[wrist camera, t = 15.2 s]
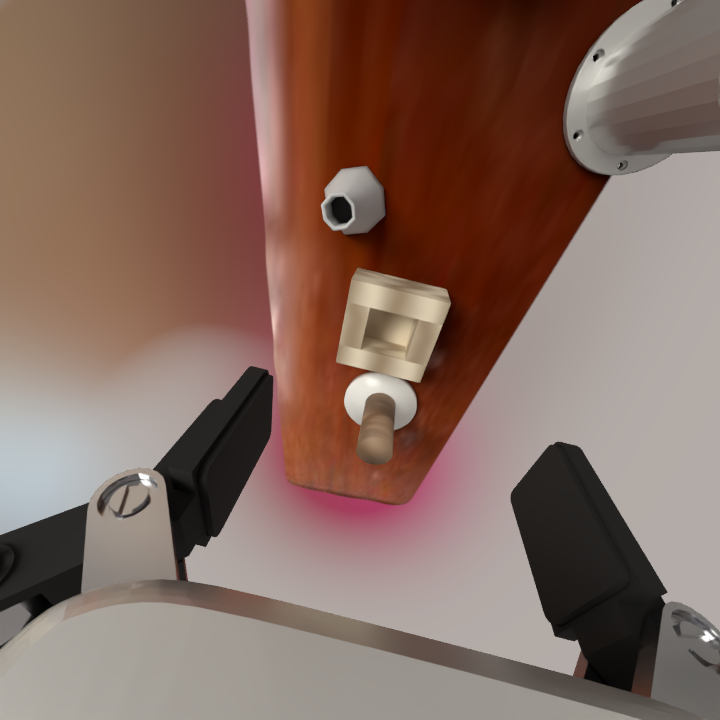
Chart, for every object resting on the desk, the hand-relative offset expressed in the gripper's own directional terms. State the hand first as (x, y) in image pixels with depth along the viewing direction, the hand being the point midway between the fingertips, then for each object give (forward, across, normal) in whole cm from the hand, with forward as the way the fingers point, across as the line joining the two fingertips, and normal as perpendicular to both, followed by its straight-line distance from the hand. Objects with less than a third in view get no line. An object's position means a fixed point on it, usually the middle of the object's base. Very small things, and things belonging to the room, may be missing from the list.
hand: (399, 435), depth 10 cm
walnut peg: (+31, -2, +25) cm, 40 cm away
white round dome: (+32, -2, +25) cm, 41 cm away
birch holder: (+32, 0, +11) cm, 34 cm away
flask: (+32, +7, -3) cm, 33 cm away
